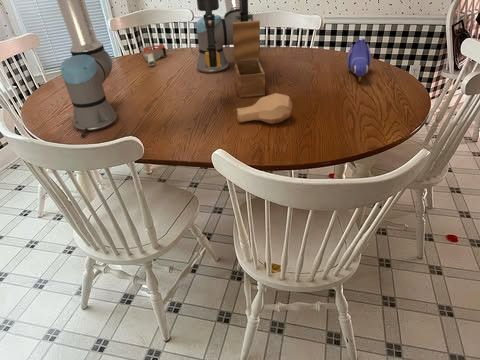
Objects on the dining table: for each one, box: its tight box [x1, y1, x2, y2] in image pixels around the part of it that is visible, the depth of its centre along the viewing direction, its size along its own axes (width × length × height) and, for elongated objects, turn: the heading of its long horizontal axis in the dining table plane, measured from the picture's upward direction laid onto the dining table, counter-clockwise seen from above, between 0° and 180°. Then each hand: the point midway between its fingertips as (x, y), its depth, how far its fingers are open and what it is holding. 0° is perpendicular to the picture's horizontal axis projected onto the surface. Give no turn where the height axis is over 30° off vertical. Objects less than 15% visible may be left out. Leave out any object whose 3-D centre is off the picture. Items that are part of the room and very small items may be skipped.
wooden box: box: [233, 60, 266, 99], centre depth 149 cm, size 17×11×9 cm, turn 6°
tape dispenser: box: [140, 44, 167, 67], centre depth 190 cm, size 18×5×20 cm
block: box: [205, 51, 220, 67], centre depth 135 cm, size 4×4×4 cm
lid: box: [232, 13, 261, 62], centre depth 149 cm, size 17×11×9 cm
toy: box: [346, 38, 372, 83], centre depth 153 cm, size 10×17×25 cm
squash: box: [236, 92, 293, 125], centre depth 125 cm, size 11×20×9 cm, turn 92°
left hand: (213, 63), depth 137 cm, fingers closed on block, 5 cm apart
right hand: (244, 29), depth 148 cm, fingers closed on lid, 2 cm apart
